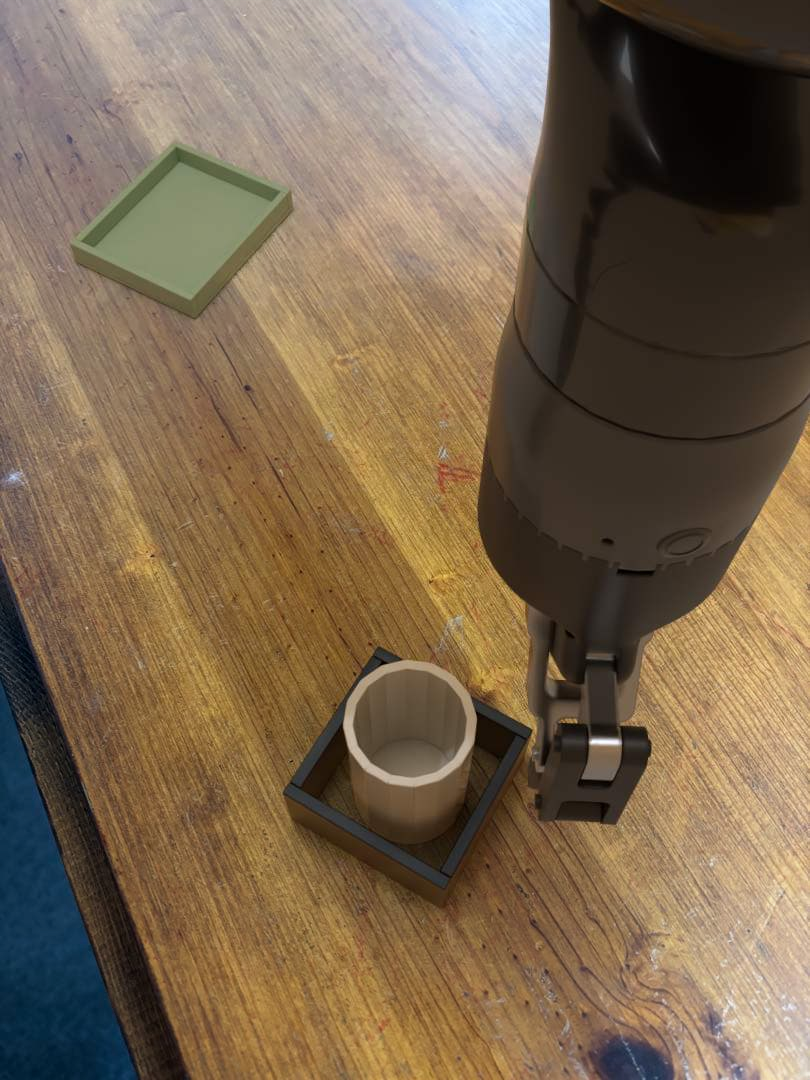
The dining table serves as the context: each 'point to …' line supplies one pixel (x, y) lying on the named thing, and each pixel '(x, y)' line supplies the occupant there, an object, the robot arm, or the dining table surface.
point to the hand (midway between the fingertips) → (553, 675)
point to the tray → (183, 227)
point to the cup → (409, 749)
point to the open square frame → (373, 849)
